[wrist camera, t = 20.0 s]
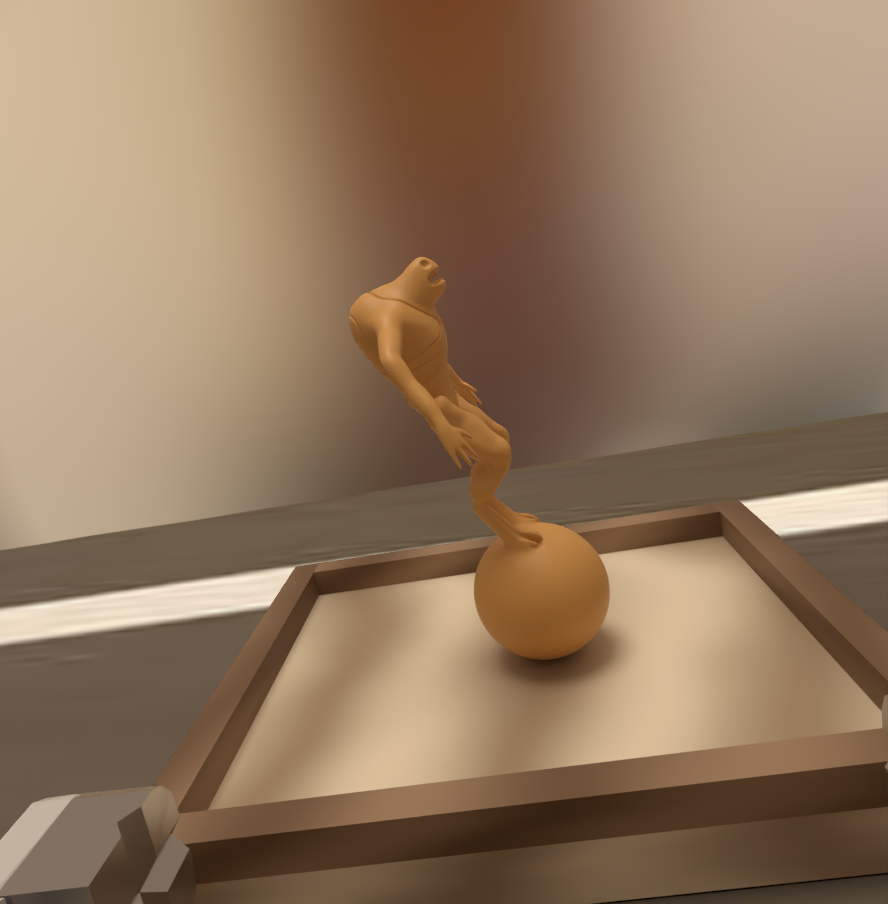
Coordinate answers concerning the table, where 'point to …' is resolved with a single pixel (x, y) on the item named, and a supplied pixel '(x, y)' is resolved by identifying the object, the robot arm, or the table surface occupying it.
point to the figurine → (484, 479)
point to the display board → (544, 732)
